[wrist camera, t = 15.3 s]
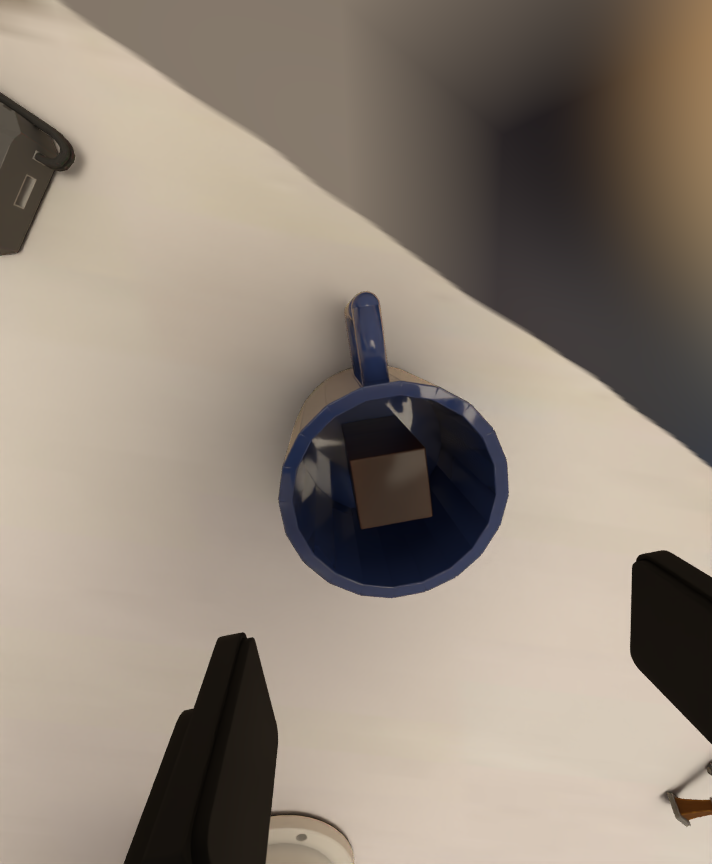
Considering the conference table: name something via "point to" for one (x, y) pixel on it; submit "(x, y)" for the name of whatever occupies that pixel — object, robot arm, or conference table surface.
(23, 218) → the walkie-talkie
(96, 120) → the conference table surface
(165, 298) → the conference table surface
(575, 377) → the conference table surface
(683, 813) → the wooden post with brackets
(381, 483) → the walnut peg
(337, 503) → the mug
